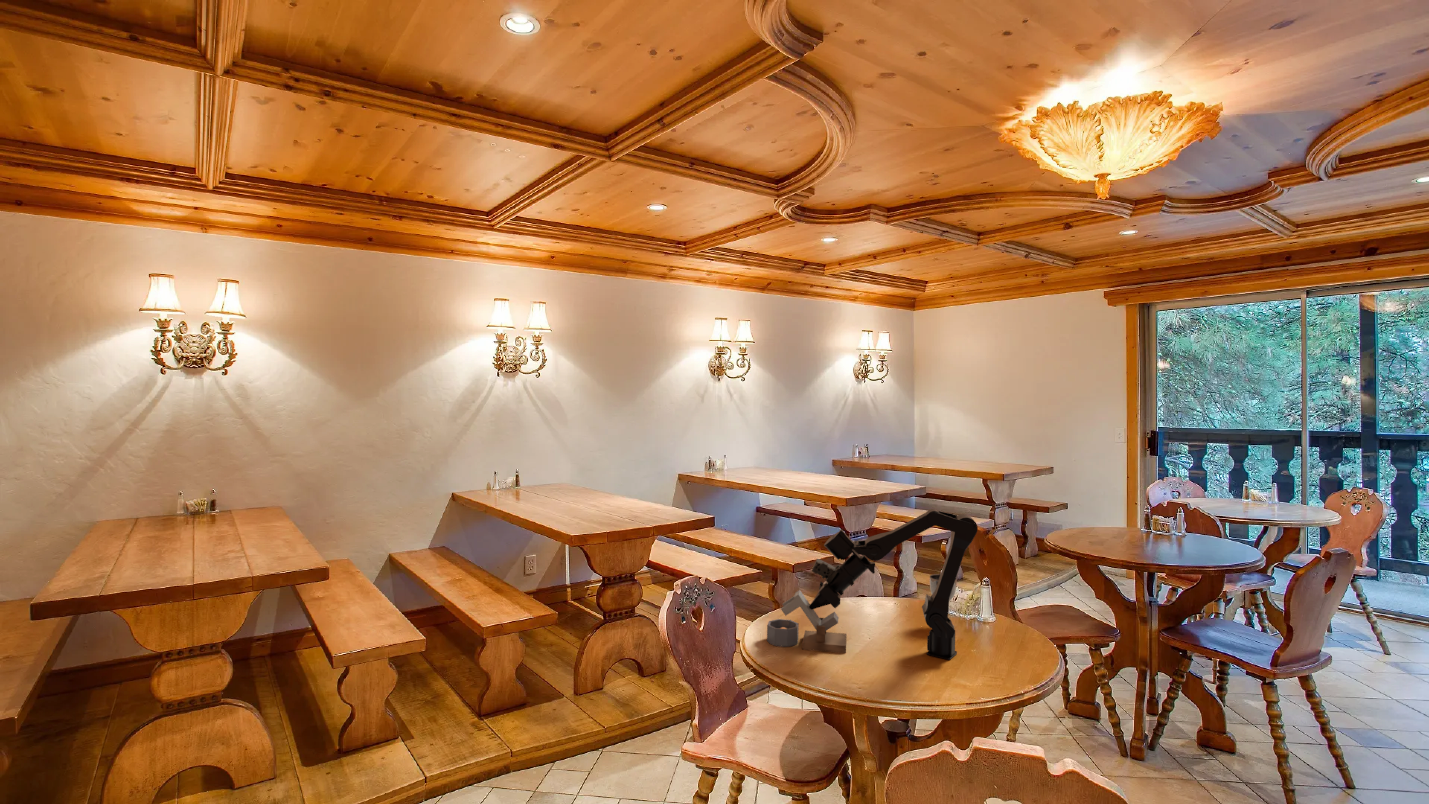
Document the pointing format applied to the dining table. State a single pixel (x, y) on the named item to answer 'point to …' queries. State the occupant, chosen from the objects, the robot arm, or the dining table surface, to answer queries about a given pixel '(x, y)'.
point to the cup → (782, 633)
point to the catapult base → (824, 640)
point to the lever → (808, 611)
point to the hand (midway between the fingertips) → (810, 608)
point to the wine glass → (934, 581)
